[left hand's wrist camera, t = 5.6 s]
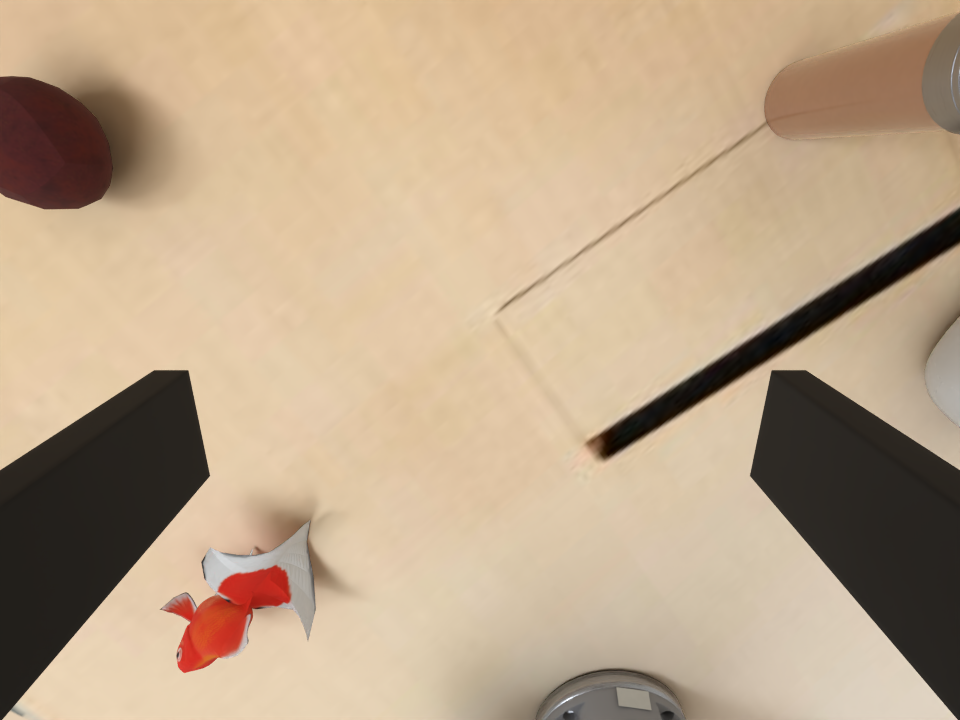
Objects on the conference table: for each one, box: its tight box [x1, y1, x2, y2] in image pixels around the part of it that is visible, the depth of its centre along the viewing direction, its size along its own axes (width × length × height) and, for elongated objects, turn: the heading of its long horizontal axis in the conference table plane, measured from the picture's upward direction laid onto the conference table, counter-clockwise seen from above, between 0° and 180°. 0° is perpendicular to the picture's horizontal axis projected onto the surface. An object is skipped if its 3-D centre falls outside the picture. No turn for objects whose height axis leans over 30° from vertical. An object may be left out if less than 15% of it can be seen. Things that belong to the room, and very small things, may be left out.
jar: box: [765, 11, 960, 140], centre depth 28 cm, size 5×5×15 cm
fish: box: [160, 521, 316, 673], centre depth 45 cm, size 11×16×10 cm
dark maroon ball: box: [0, 76, 113, 209], centre depth 33 cm, size 7×8×7 cm
